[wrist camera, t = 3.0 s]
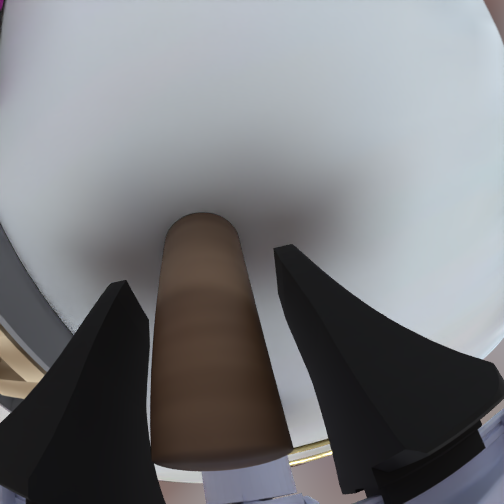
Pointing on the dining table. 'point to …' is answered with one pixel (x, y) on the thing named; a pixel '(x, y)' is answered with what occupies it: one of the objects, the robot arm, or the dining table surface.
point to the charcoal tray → (27, 315)
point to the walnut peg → (211, 357)
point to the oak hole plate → (17, 368)
